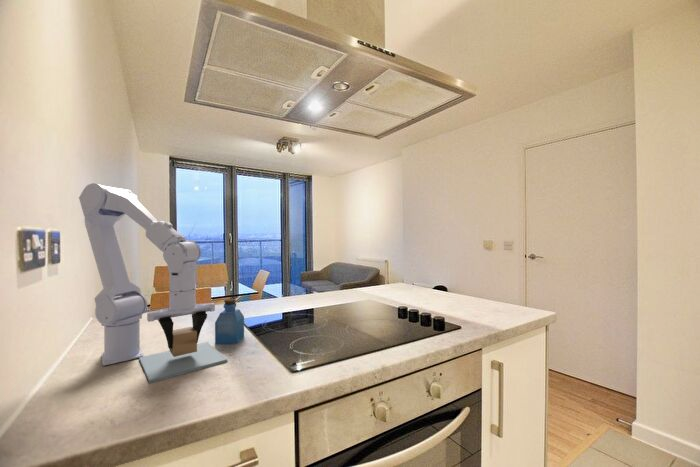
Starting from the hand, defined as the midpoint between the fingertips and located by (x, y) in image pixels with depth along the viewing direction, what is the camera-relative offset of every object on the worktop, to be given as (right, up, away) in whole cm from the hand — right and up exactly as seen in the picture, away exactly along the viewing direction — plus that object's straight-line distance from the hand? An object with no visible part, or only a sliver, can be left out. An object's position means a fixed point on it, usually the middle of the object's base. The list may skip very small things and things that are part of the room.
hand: (182, 344), depth 74 cm
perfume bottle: (+6, -4, +15) cm, 16 cm away
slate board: (0, -4, 0) cm, 4 cm away
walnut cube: (0, -2, 0) cm, 2 cm away
